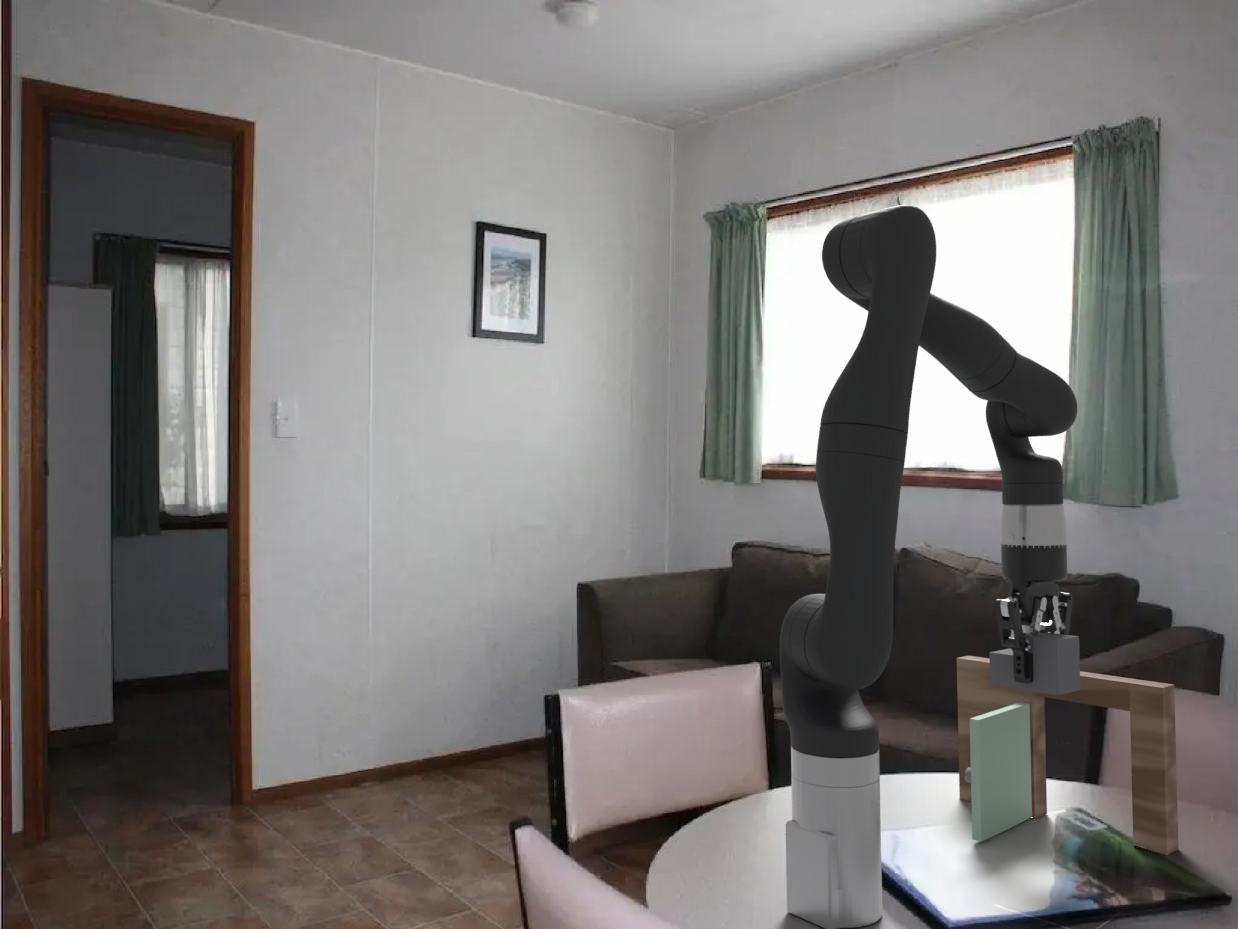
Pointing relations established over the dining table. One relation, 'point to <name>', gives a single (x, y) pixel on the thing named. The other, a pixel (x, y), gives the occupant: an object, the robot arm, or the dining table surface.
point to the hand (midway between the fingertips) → (1036, 678)
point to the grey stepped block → (1042, 665)
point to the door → (1000, 770)
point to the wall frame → (1140, 697)
